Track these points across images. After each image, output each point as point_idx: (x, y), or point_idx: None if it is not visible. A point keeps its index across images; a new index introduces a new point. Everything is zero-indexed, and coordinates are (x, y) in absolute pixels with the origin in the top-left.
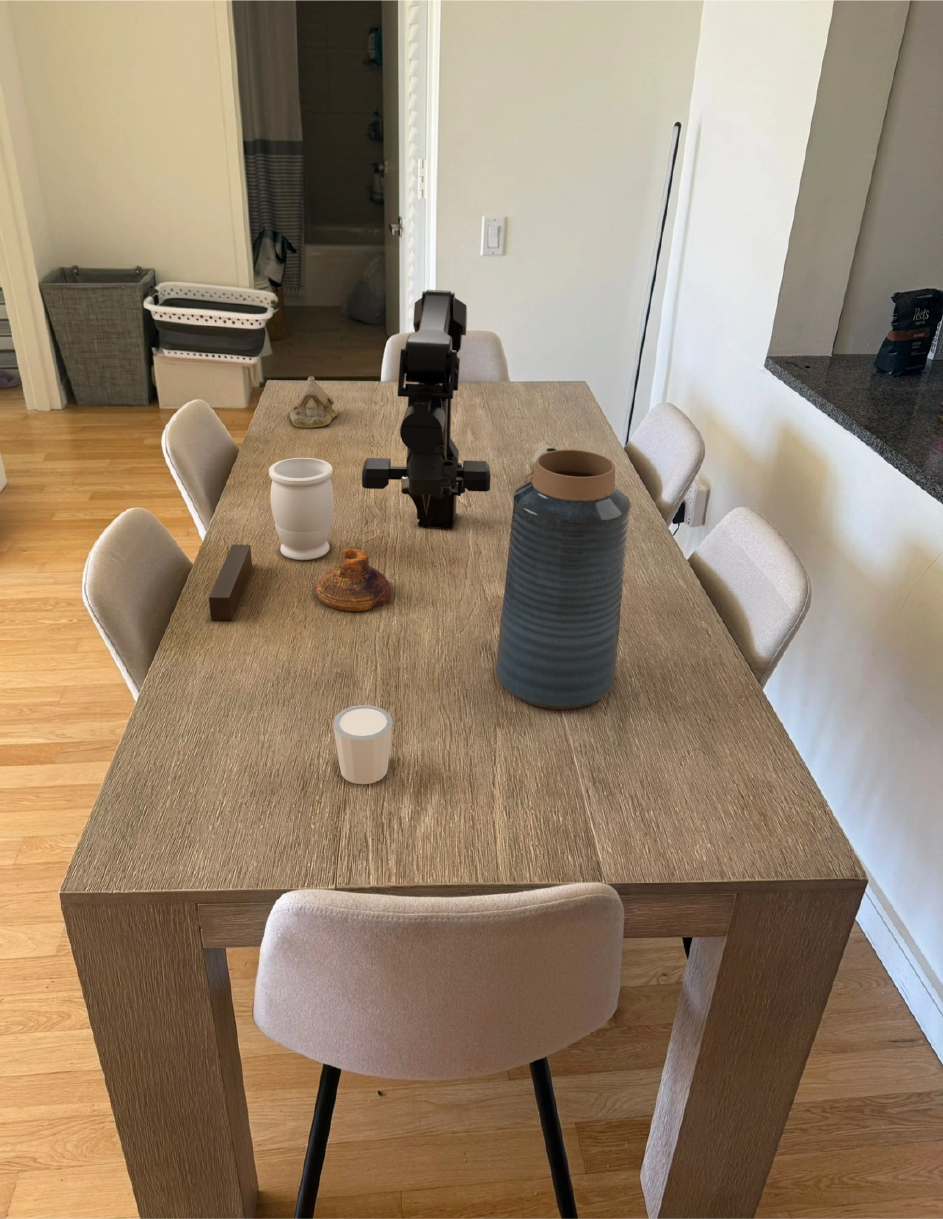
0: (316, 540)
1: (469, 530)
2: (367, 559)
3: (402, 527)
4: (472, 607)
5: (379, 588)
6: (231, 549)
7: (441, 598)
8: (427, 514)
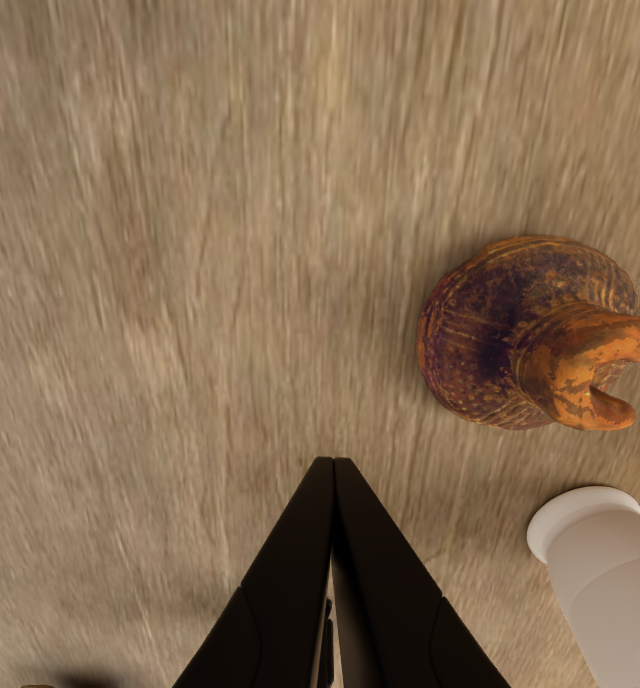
0: (604, 532)
1: (229, 586)
2: (548, 370)
3: None
4: (203, 267)
5: (469, 296)
6: None
7: (285, 315)
8: (323, 542)
